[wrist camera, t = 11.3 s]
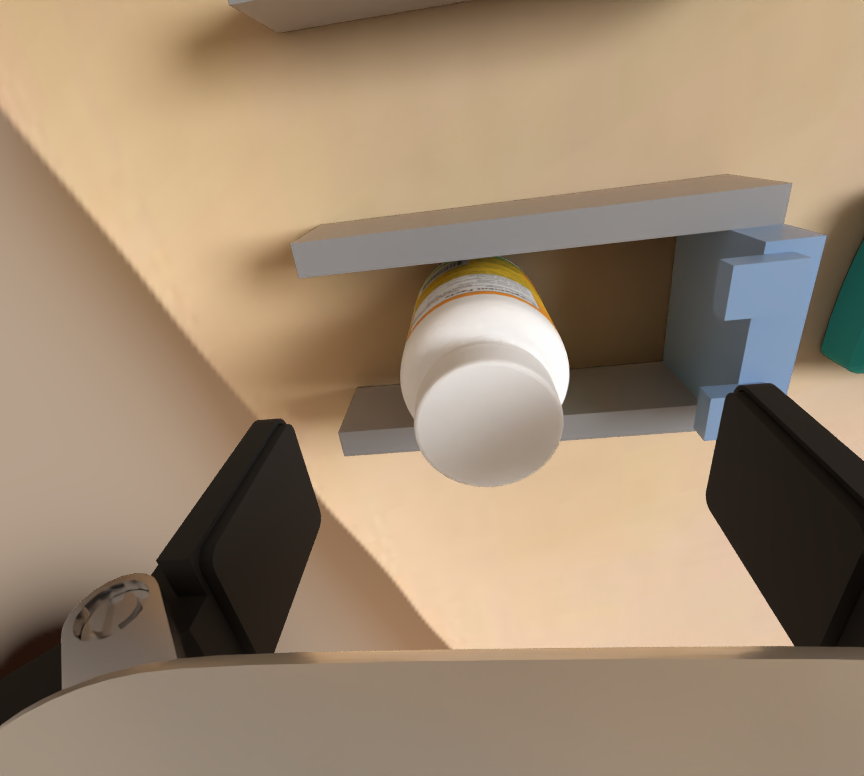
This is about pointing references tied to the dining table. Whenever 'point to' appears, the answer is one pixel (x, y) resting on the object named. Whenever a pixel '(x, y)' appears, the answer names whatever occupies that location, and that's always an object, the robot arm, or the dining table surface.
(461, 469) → the supplement bottle
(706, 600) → the dining table surface
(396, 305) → the dining table surface
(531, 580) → the dining table surface
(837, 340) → the digital multimeter
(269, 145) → the dining table surface
